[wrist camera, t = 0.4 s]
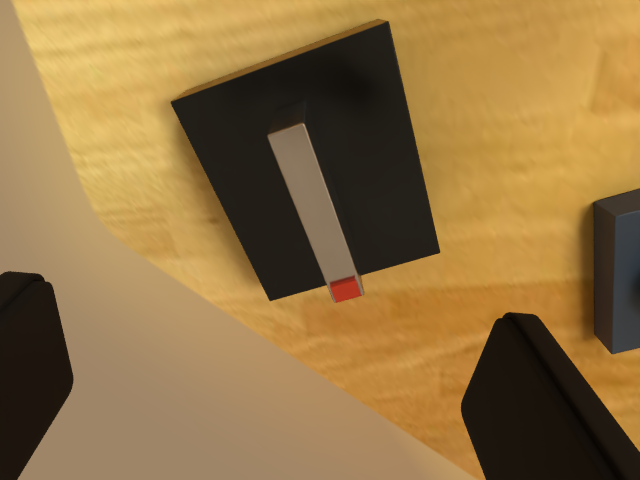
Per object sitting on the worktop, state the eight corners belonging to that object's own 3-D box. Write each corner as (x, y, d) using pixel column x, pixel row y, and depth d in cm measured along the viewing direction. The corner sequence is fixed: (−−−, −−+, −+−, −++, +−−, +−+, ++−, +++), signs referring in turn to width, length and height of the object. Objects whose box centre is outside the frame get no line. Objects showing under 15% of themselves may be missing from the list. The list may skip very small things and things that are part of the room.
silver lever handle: (274, 110, 21) (265, 137, 16) (305, 99, 20) (304, 124, 16) (330, 256, 25) (334, 306, 21) (356, 248, 25) (365, 298, 21)
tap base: (185, 90, 23) (169, 101, 20) (379, 18, 21) (388, 20, 19) (273, 274, 29) (269, 301, 27) (428, 229, 28) (440, 253, 25)
